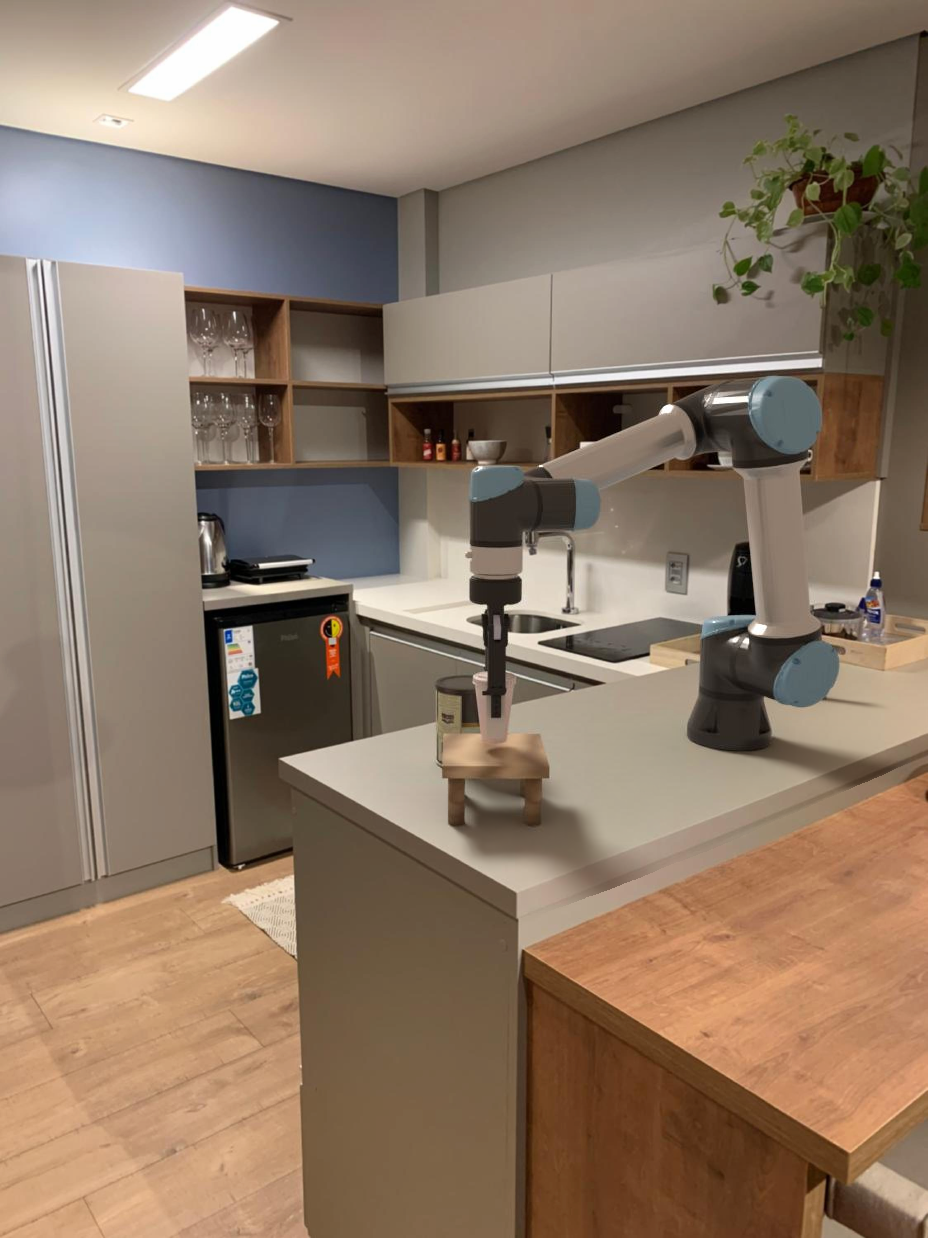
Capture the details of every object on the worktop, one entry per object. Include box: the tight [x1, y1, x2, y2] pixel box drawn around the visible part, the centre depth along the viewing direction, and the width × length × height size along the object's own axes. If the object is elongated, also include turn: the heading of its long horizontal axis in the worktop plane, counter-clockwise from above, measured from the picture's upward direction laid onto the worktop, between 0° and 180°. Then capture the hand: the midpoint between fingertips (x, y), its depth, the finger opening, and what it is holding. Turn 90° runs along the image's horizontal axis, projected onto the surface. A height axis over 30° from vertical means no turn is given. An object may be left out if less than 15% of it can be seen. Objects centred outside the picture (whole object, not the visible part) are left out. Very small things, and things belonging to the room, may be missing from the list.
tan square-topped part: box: [441, 733, 551, 827], centre depth 139 cm, size 15×15×9 cm
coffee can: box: [434, 674, 481, 768], centre depth 159 cm, size 10×10×14 cm
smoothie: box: [472, 671, 517, 744], centre depth 137 cm, size 6×6×14 cm
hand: (494, 730), depth 138 cm, fingers closed on smoothie, 6 cm apart
